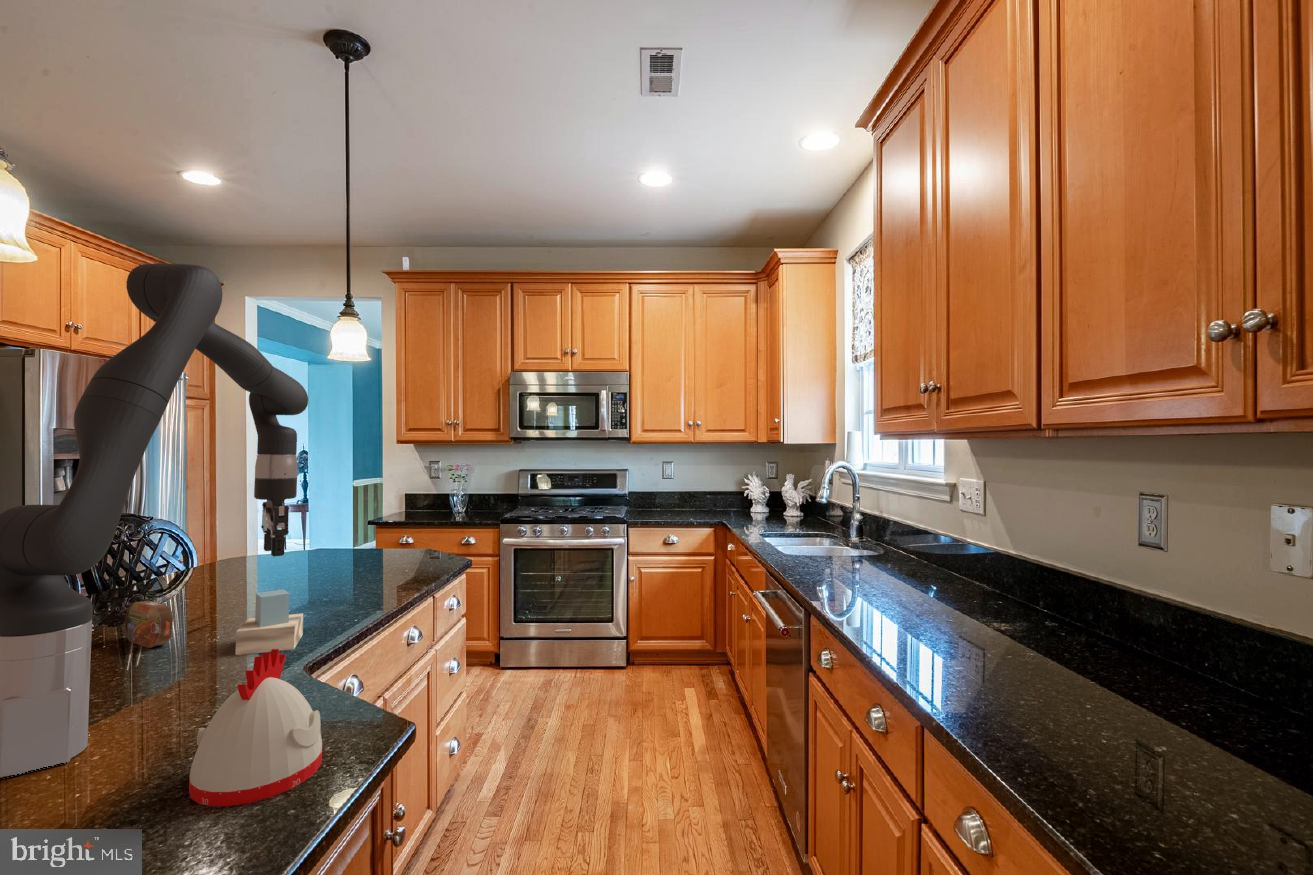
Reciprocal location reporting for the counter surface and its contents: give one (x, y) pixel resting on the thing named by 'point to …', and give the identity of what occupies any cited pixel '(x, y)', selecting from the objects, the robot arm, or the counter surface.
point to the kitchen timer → (257, 740)
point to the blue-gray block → (272, 608)
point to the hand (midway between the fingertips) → (273, 553)
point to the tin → (148, 624)
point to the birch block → (269, 636)
